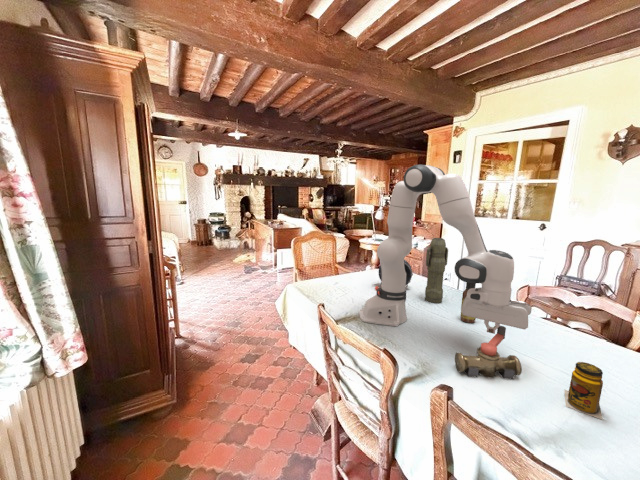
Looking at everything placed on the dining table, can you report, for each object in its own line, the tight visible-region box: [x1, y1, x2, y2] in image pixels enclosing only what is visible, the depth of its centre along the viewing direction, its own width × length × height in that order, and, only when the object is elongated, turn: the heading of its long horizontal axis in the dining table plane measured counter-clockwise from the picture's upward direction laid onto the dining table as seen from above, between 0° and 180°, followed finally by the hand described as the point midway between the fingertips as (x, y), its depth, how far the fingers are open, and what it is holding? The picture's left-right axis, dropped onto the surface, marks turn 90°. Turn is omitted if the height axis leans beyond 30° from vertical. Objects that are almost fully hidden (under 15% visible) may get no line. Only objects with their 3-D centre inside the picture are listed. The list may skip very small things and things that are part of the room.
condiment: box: [564, 361, 604, 421], centre depth 74 cm, size 7×8×12 cm
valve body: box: [454, 346, 523, 380], centre depth 88 cm, size 18×6×7 cm, turn 85°
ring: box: [378, 259, 414, 286], centre depth 166 cm, size 11×20×20 cm, turn 89°
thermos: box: [424, 237, 449, 305], centre depth 145 cm, size 9×12×35 cm
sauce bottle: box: [460, 282, 477, 324], centre depth 123 cm, size 7×6×20 cm
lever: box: [480, 325, 507, 356], centre depth 91 cm, size 4×16×4 cm, turn 132°
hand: (490, 332), depth 97 cm, fingers closed
